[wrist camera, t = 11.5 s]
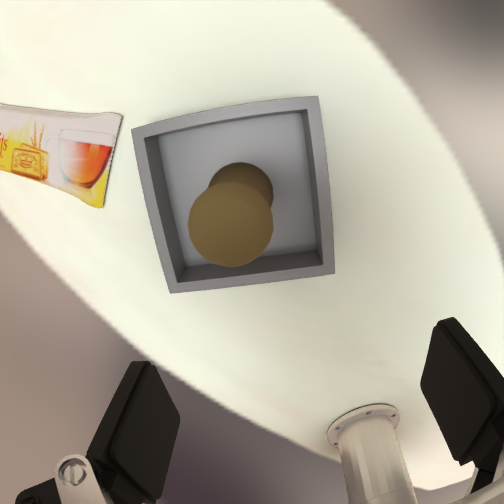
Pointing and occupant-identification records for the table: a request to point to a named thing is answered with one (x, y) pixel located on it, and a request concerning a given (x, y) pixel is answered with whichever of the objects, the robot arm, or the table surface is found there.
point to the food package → (59, 149)
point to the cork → (233, 216)
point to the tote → (233, 151)
